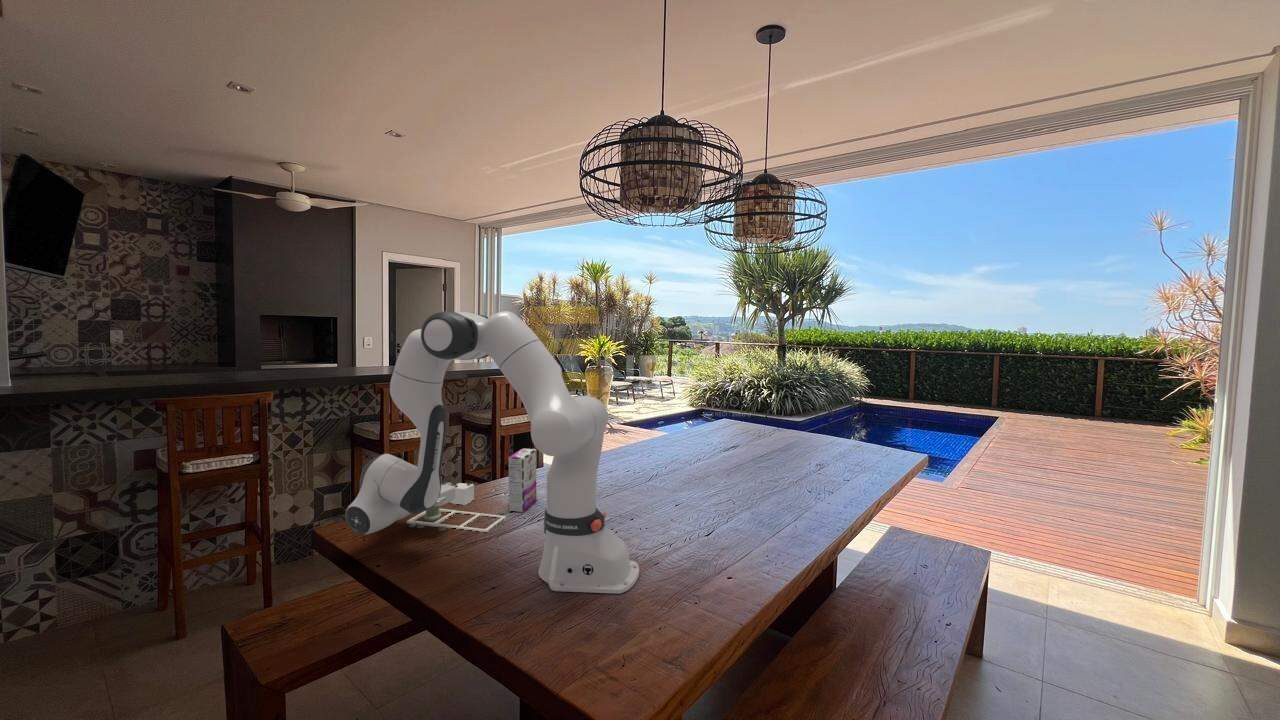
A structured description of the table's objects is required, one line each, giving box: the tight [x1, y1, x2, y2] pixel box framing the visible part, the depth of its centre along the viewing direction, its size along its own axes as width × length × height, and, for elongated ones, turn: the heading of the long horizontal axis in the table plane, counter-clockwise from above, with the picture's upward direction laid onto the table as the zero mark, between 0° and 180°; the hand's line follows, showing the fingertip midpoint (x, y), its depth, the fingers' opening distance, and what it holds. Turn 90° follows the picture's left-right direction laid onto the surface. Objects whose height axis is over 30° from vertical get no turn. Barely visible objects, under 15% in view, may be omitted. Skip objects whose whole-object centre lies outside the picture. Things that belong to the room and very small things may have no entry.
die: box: [449, 482, 475, 506], centre depth 166 cm, size 5×5×6 cm
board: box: [406, 508, 507, 533], centre depth 149 cm, size 24×13×1 cm, turn 77°
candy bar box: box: [507, 447, 537, 513], centre depth 163 cm, size 11×5×16 cm, turn 171°
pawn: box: [423, 506, 442, 522], centre depth 152 cm, size 4×4×14 cm
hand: (434, 483), depth 153 cm, fingers open, 8 cm apart
